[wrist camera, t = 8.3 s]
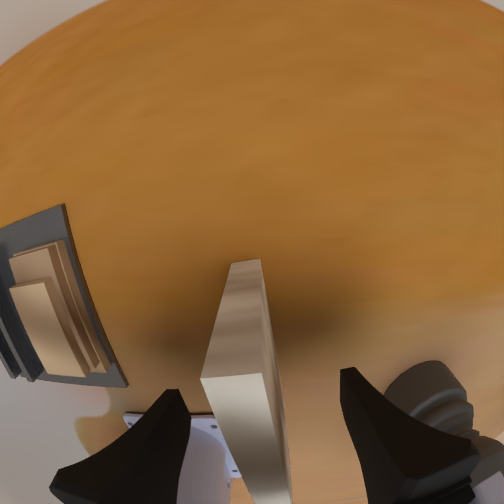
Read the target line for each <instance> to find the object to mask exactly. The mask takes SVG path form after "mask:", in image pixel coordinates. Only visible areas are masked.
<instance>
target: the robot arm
mask: <svg viewBox="0 0 504 504" xmlns="http://www.w3.org/2000/svg"><path fill="white" fill-rule="evenodd" d="M340 403H341V407H342V412H343V416H344V420H345V422H346V425H347V428H348V431H349V433H350V436H351V439H352V441H353V444H354V447H355V449H356V452H357V455H358V458H359V461H360V464H361V469H362V473H363V478H364V482H365V487H366V492H367V498H368V504H504V477H503V475H502V473H501V471H498V472H497V473H495V474H494V475H492V476H490V477H489V478H487V479H486V480H484V481H483V482H481V483H479V484H478V485H477V486H475V487H474V488H473V489H472V488H471V486H470V484H471V483H472V479H471V477H470V474H471V473H472V471H473V470H474V469H475V467H476V466H477V465H478V463H479V461H480V459H481V454H480V453H479V451H478V449H477V448H476V446H475V445H474V443H473V442H472V441H471V440H470V439H467V438H463V437H459V436H455V435H451V434H448V433H446V432H443V431H440V430H437V429H435V428H433V427H431V426H429V425H427V424H424V423H422V422H420V421H419V420H417V419H415V418H413V417H412V416H410V415H408V414H407V413H405V412H404V411H402V410H401V409H400V408H398V407H397V406H395V405H394V404H393V403H392V402H390V401H389V400H388V399H387V398H385V397H384V396H383V395H382V394H381V393H380V392H379V391H378V390H376V389H375V388H374V387H373V386H372V385H371V384H370V383H369V382H368V381H367V380H366V379H365V378H364V377H363V376H362V374H361V373H360V372H359V371H358V370H357V369H356V368H355V367H350V368H346V369H341V370H340ZM123 420H124V421H125V423H126V424H127V426H128V428H129V429H128V430H127V431H126V432H125V433H124V434H123V435H122V436H120V437H119V438H118V439H117V440H115V441H114V442H113V443H111V444H110V445H109V446H107V447H105V448H104V449H102V450H101V451H99V452H97V453H96V454H94V455H92V456H90V457H88V458H86V459H85V460H82V461H80V462H78V463H75V464H73V465H70V466H67V467H64V468H61V469H59V470H58V471H57V473H56V475H55V477H54V479H53V481H52V483H51V485H50V486H49V489H50V491H51V492H52V494H53V495H55V496H56V497H57V498H58V499H59V500H60V501H62V502H63V503H64V504H230V495H231V483H232V478H240V477H242V476H241V474H240V472H239V470H238V468H237V466H236V464H235V461H234V459H233V457H232V455H231V453H230V451H229V448H228V446H227V444H226V442H225V439H224V437H223V435H222V432H221V430H220V428H219V425H218V423H217V420H216V418H215V416H214V415H190V413H189V411H188V409H187V407H186V405H185V403H184V400H183V398H182V396H181V394H180V392H179V389H166V390H165V391H164V392H163V394H162V395H161V396H160V397H159V398H158V399H157V400H156V401H155V403H154V404H153V405H152V406H151V407H150V408H149V409H148V410H147V411H146V412H145V414H130V413H125V414H124V415H123Z"/></svg>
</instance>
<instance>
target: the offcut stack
mask: <svg viewBox="0 0 504 504" xmlns="http://www.w3.org/2000/svg"><path fill="white" fill-rule="evenodd" d="M9 262H10V266H11V269H12V272H13V275H14V278H15V281H16V285H14V286H13V287H11V288H9V290H10V293H11V295H12V298H13V301H14V303H15V306H16V309H17V311H18V313H19V316H20V318H21V321H22V323H23V325H24V328H25V330H26V332H27V334H28V336H29V338H30V341H31V343H32V345H33V347H34V349H35V351H36V353H37V355H38V357H39V359H40V360H41V362H42V364H43V366H44V368H45V370H46V372H47V373H48V374H54V375H64V376H75V377H86V376H87V375H88V374H89V372H99V373H107V371H108V370H109V368H110V367H111V365H110V362H109V360H108V358H107V356H106V354H105V352H104V350H103V348H102V345H101V343H100V341H99V339H98V336H97V334H96V332H95V329H94V327H93V324H92V322H91V319H90V317H89V314H88V312H87V309H86V307H85V304H84V301H83V298H82V296H81V293H80V290H79V287H78V284H77V281H76V278H75V275H74V272H73V269H72V266H71V262H70V259H69V256H68V252H67V249H66V245H65V241H64V239H62V240H58V241H55V242H51V243H48V244H44V245H41V246H37V247H34V248H31V249H27V250H24V251H21V252H18V253H16V254H14V257H12V258H10V259H9Z"/></svg>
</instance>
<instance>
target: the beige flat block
mask: <svg viewBox="0 0 504 504" xmlns="http://www.w3.org/2000/svg"><path fill="white" fill-rule="evenodd" d="M200 380H201V382H202V385H203V388H204V390H205V393H206V395H207V398H208V401H209V403H210V406H211V408H212V411H213V413H214V416H215V418H216V420H217V423H218V425H219V428H220V430H221V432H222V435H223V437H224V439H225V442H226V444H227V446H228V448H229V451H230V453H231V455H232V457H233V459H234V461H235V464H236V466H237V468H238V470H239V472H240V474H241V476H242V478H243V480H244V482H245V484H246V486H247V488H248V490H249V492H250V494H251V496H252V498H253V500H254V502H255V504H293V497H292V484H291V471H290V459H289V448H288V436H287V425H286V414H285V404H284V395H283V389H282V383H281V377H280V371H279V365H278V359H277V354H276V348H275V342H274V336H273V330H272V324H271V318H270V313H269V307H268V301H267V295H266V290H265V284H264V278H263V272H262V267H261V261H260V259H254V260H248V261H242V262H236V263H231V267H230V270H229V274H228V277H227V281H226V284H225V288H224V292H223V295H222V299H221V303H220V306H219V310H218V313H217V317H216V321H215V324H214V328H213V332H212V336H211V339H210V343H209V347H208V350H207V354H206V358H205V362H204V365H203V369H202V373H201V377H200Z"/></svg>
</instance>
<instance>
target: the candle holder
mask: <svg viewBox="0 0 504 504" xmlns="http://www.w3.org/2000/svg"><path fill="white" fill-rule="evenodd" d="M384 397H385V398H387V399H388V400H389V401H390V402H392V403H393V404H394V405H395V406H397V407H398V408H400V409H401V410H402V411H404V412H405V413H407V414H408V415H410V416H412V417H413V418H415V419H417V420H419V421H420V422H422V423H424V424H427V425H429V426H431V427H433V428H435V429H437V430H440V431H443V432H446V433H448V434H451V435H455V436H459V437H463V438H467V439H470V440H471V441H472V442H473V443H474V445H475V446H476V448H477V449H478V451H479V453H480V454H481V459H480V461H479V463H478V465H477V466H476V467H475V469H474V470H473V471H472V473H471V474H470V477H471V479H472V483H471V484H470V486H471V488H472V489H473V488H474V487H475V486H477V485H478V484H479V483H481V482H483V481H484V480H486V479H487V478H489V477H490V476H492V475H494V474H495V473H497V472H498V471H501V473H502V475H503V477H504V445H503V444H502V443H500V442H499V441H497V440H495V439H492V438H489V437H486V436H479V431H477V430H473V429H472V426H473V417H474V413H473V406H472V404H470V403H468V402H467V395H466V390H465V389H464V388H463V386H462V385H461V384H460V383H459V381H458V380H457V379H456V377H455V376H454V375H453V374H452V372H451V371H450V370H449V369H448V367H447V366H446V365H444V364H443V363H442V362H440V361H427V362H424V363H421V364H418V365H415V366H413V367H412V368H410V369H409V370H407V371H406V372H404V373H403V374H401V375H400V376H399V377H398V378H397V379H396V380H395V381H394V382H393V383H392V384H391V385H390V386H389V387H388V389H387V391H386V392H385V394H384Z"/></svg>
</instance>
